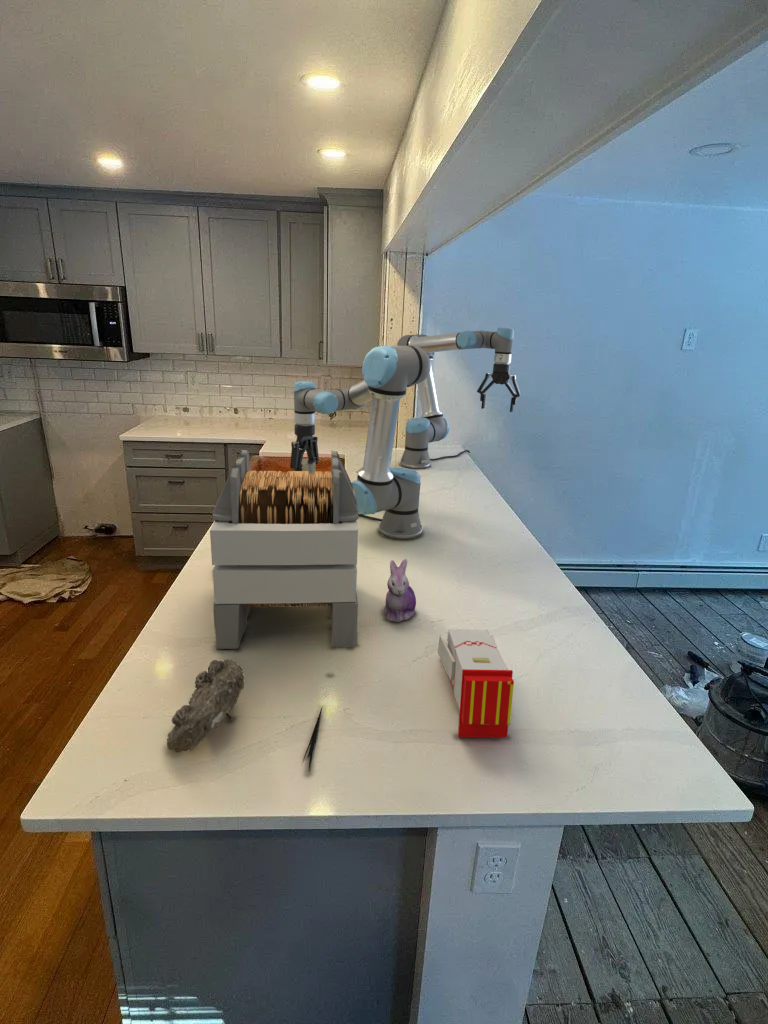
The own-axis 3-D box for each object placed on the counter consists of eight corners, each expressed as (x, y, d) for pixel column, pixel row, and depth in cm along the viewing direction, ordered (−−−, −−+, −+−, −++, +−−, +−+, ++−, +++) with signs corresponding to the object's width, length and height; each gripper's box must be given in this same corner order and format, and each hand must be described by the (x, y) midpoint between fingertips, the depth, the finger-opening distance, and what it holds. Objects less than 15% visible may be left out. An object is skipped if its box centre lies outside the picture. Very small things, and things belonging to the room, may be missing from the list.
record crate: (234, 582, 160) (226, 440, 146) (350, 581, 163) (353, 443, 150) (213, 651, 128) (201, 478, 114) (357, 647, 132) (363, 480, 118)
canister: (300, 483, 223) (299, 457, 219) (318, 486, 220) (318, 460, 217) (290, 489, 215) (290, 462, 212) (310, 491, 213) (310, 465, 210)
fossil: (192, 660, 117) (244, 628, 112) (224, 691, 120) (276, 661, 115) (142, 746, 98) (202, 712, 93) (182, 779, 101) (242, 748, 96)
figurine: (392, 627, 141) (395, 572, 136) (374, 608, 149) (376, 556, 144) (425, 619, 145) (429, 566, 140) (405, 601, 154) (408, 550, 149)
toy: (488, 613, 130) (523, 677, 101) (484, 667, 133) (517, 744, 104) (435, 612, 130) (455, 676, 101) (432, 666, 133) (451, 743, 103)
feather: (331, 679, 122) (336, 673, 122) (307, 777, 96) (313, 769, 95) (324, 675, 122) (329, 669, 121) (298, 772, 95) (304, 764, 95)
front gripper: (312, 418, 220) (312, 475, 228) (279, 427, 202) (280, 487, 210) (328, 421, 217) (328, 478, 224) (296, 429, 199) (296, 491, 207)
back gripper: (473, 361, 260) (468, 408, 267) (527, 366, 250) (521, 414, 257) (478, 360, 266) (473, 406, 273) (531, 365, 256) (525, 411, 264)
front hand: (304, 482), depth 217 cm, fingers closed on canister, 8 cm apart
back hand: (496, 410), depth 265 cm, fingers open, 13 cm apart
